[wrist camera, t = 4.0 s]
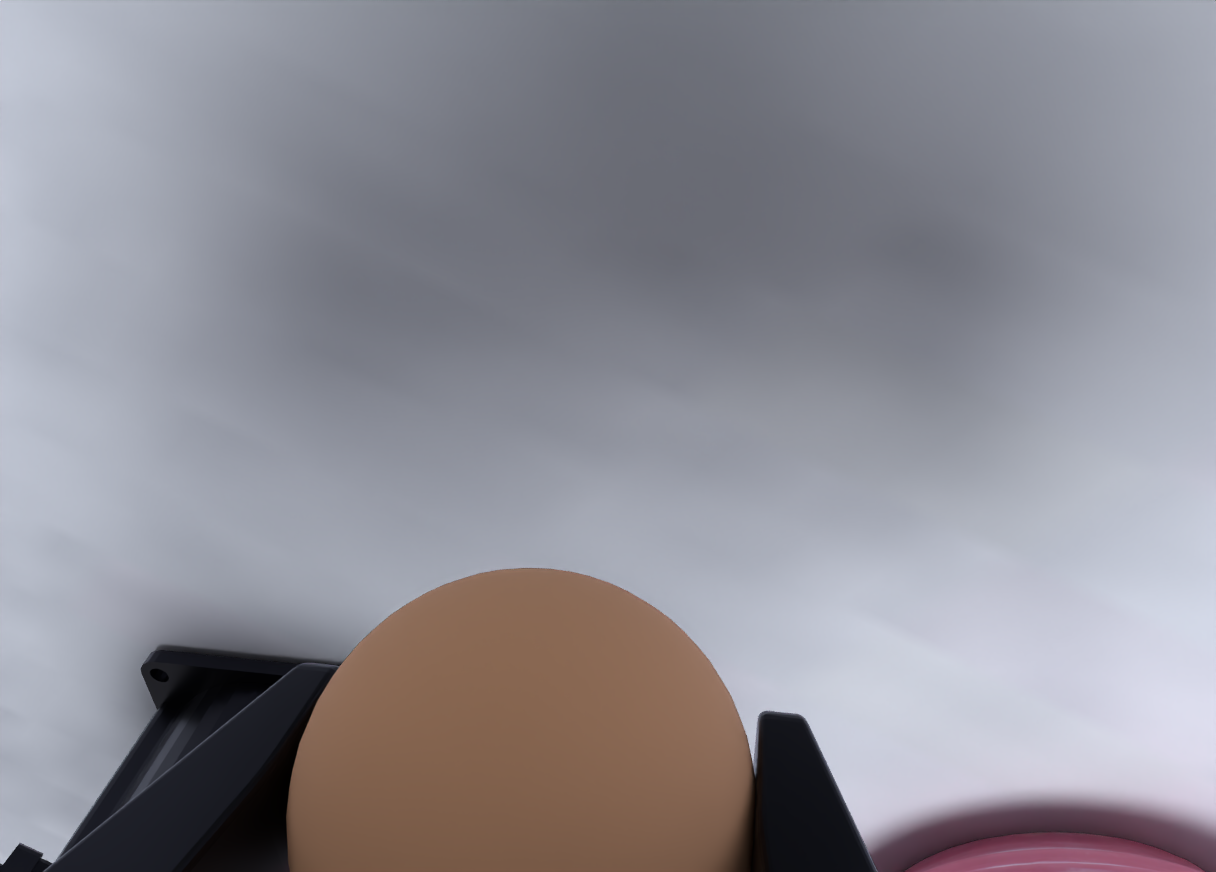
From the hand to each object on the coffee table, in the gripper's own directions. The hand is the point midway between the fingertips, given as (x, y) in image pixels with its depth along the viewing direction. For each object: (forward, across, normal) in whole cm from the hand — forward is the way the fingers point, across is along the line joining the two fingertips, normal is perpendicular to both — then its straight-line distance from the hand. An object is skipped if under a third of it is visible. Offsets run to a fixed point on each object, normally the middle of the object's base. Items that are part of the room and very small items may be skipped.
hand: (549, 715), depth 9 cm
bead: (+1, 0, 0) cm, 1 cm away
